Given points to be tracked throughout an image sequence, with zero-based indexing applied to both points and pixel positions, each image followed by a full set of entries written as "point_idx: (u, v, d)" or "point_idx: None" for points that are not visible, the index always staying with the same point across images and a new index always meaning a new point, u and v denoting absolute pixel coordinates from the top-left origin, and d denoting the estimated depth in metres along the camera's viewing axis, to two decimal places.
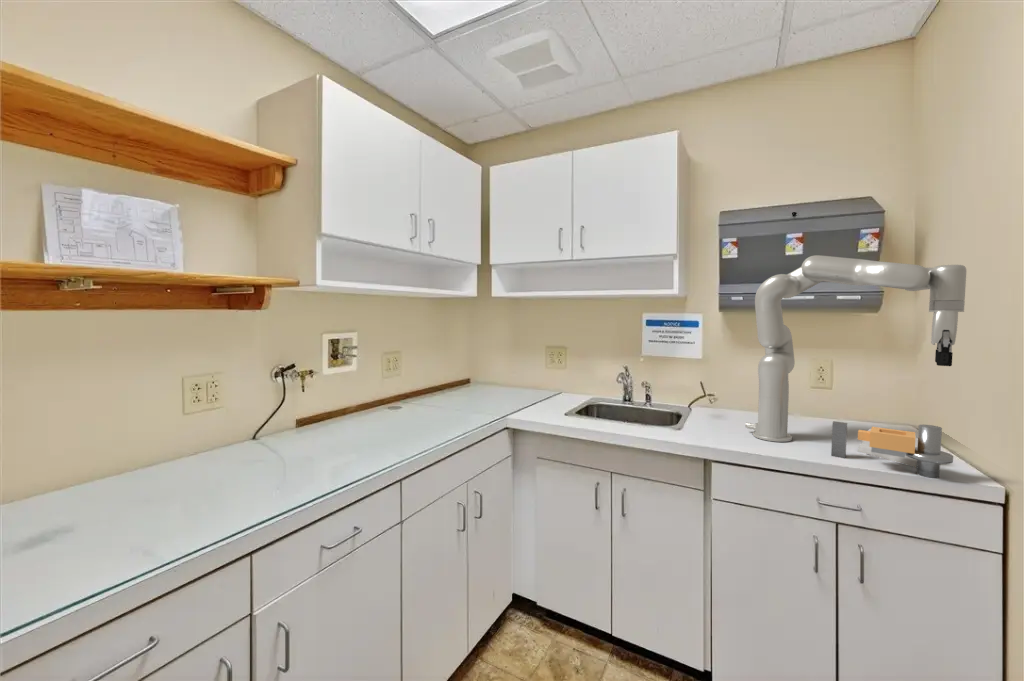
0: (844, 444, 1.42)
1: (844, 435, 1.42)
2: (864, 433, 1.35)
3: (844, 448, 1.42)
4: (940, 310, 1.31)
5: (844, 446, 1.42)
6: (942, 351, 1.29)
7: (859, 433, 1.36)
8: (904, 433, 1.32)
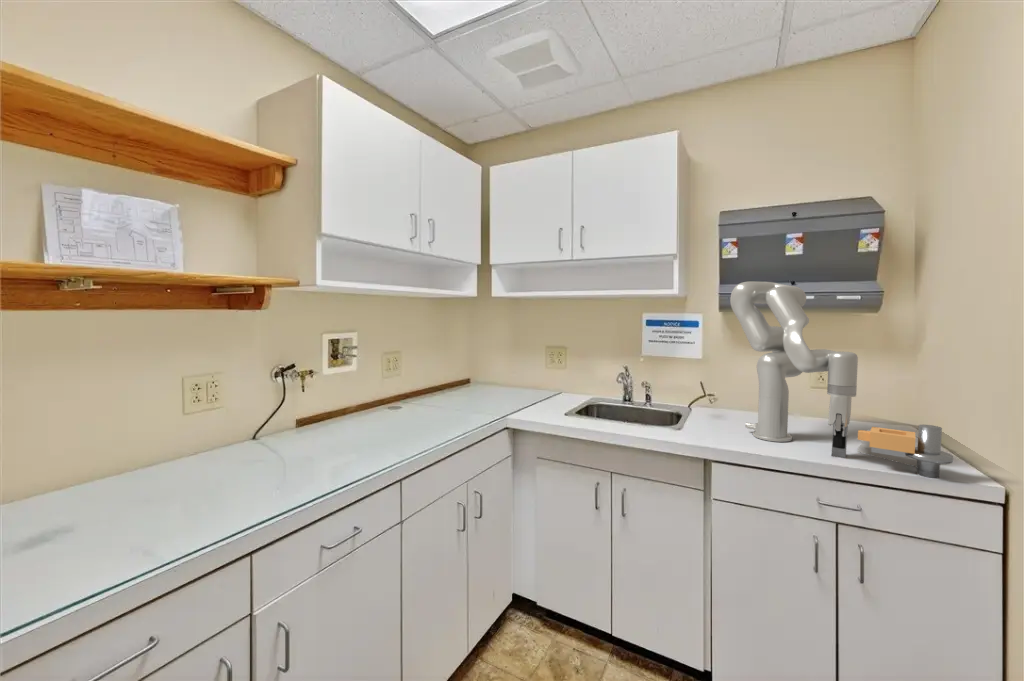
0: None
1: (845, 435, 1.42)
2: (864, 433, 1.35)
3: None
4: (834, 394, 1.41)
5: None
6: (836, 436, 1.42)
7: (859, 433, 1.36)
8: (904, 433, 1.32)
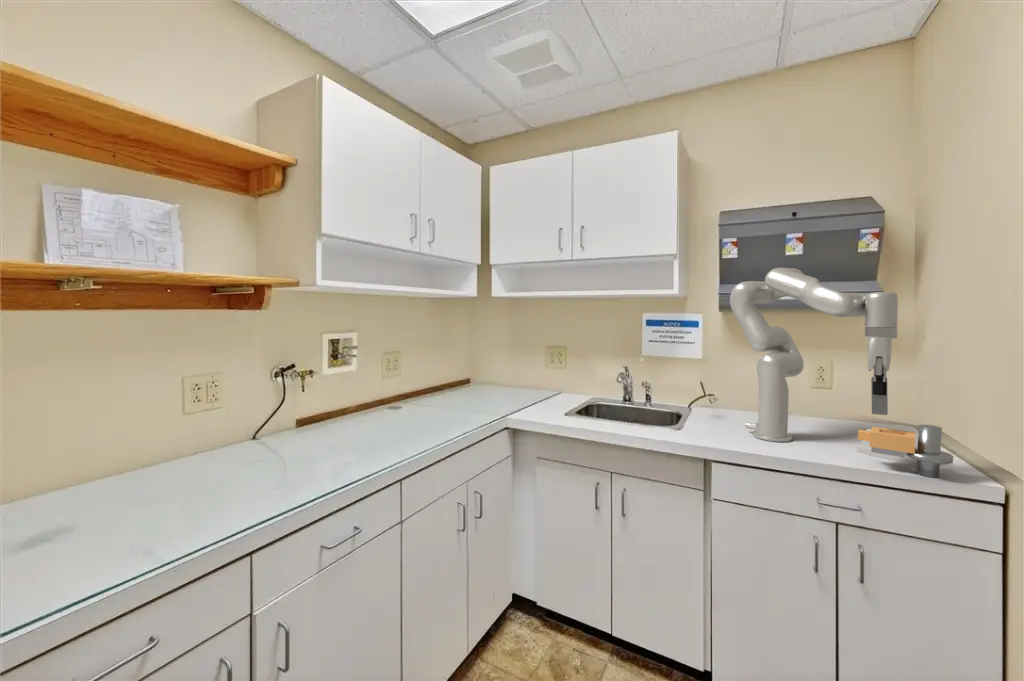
0: (885, 400, 1.32)
1: None
2: (864, 433, 1.35)
3: (886, 404, 1.32)
4: (873, 337, 1.32)
5: (886, 402, 1.32)
6: (877, 381, 1.33)
7: (859, 433, 1.36)
8: (904, 433, 1.32)
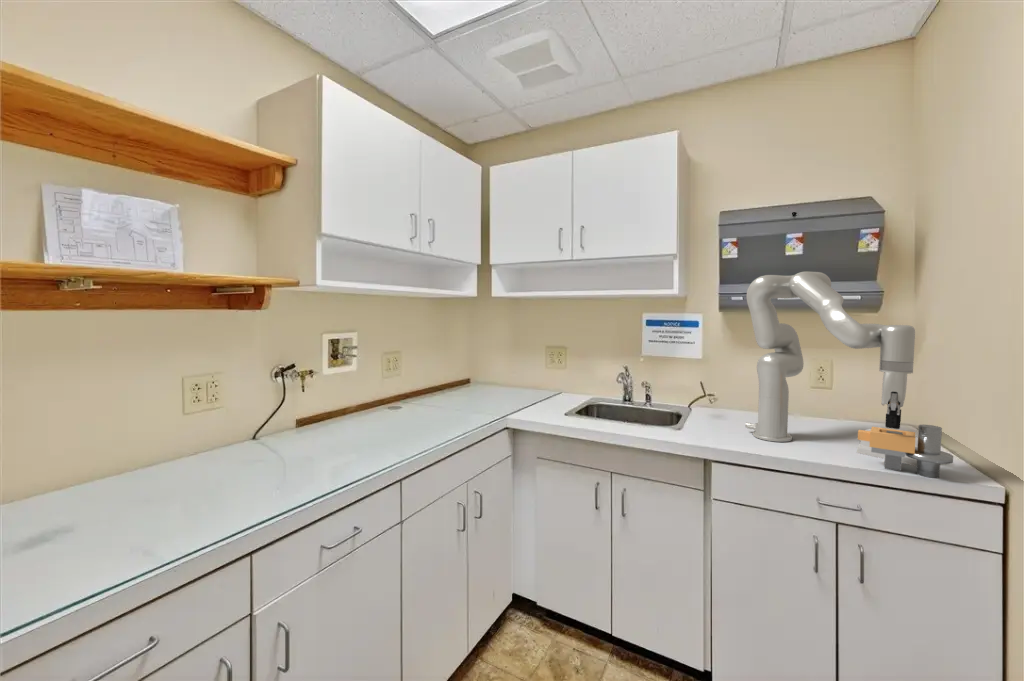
0: None
1: None
2: (864, 433, 1.35)
3: (900, 460, 1.30)
4: (889, 371, 1.29)
5: (900, 458, 1.30)
6: (890, 414, 1.28)
7: (859, 433, 1.36)
8: (904, 433, 1.32)
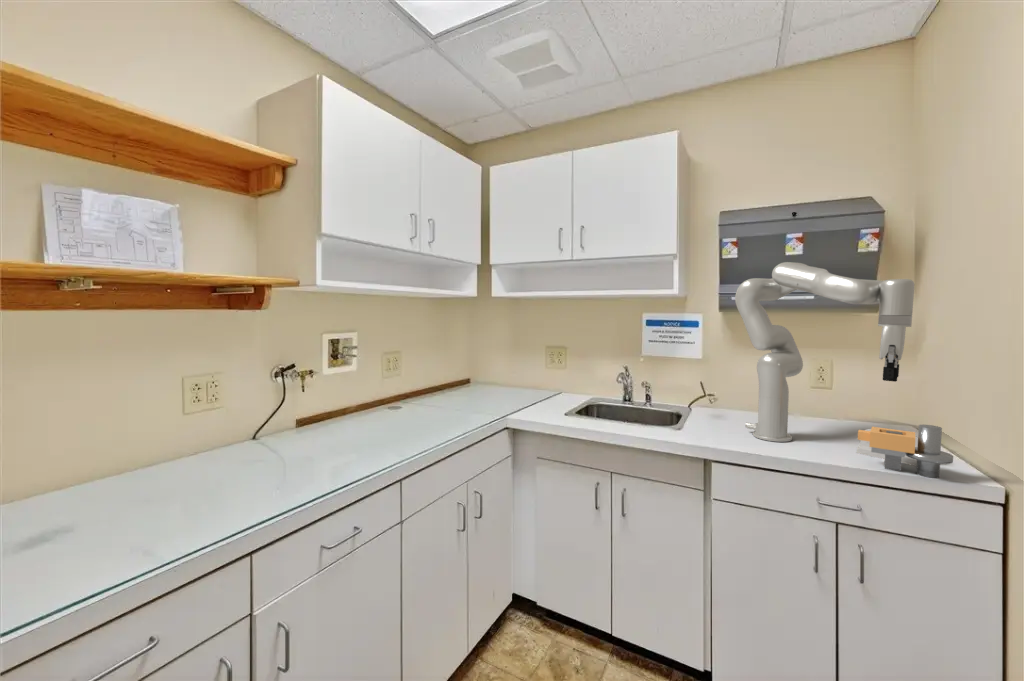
0: None
1: None
2: (864, 433, 1.35)
3: (900, 460, 1.30)
4: (887, 325, 1.30)
5: (900, 458, 1.30)
6: (888, 366, 1.28)
7: (859, 433, 1.36)
8: (904, 433, 1.32)
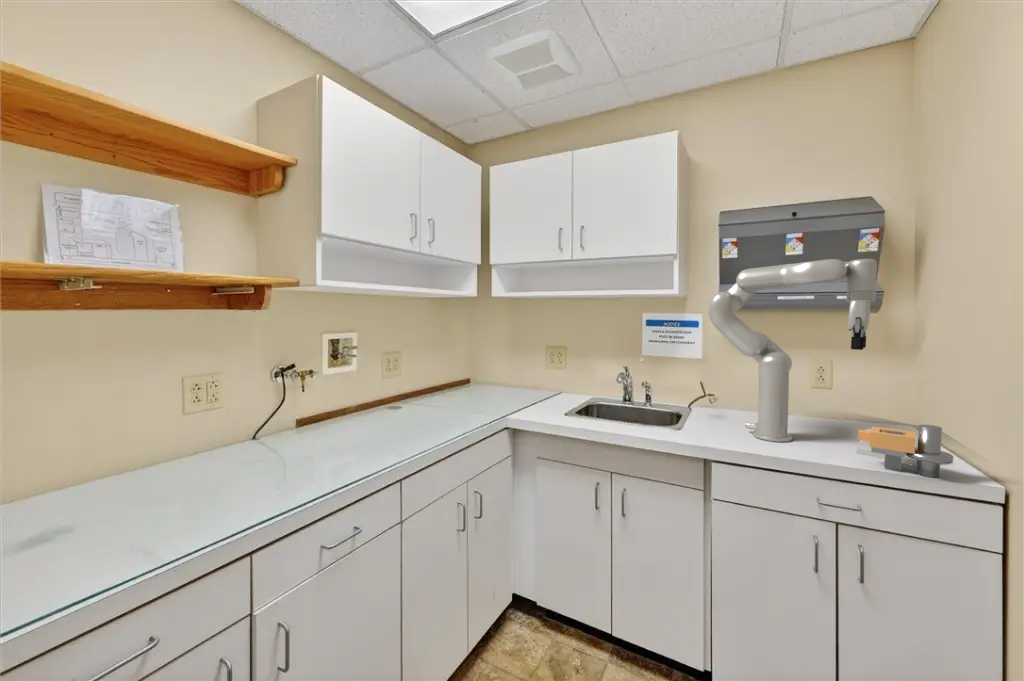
0: None
1: None
2: (864, 433, 1.35)
3: (900, 460, 1.30)
4: (854, 300, 1.46)
5: (900, 458, 1.30)
6: (855, 336, 1.44)
7: (859, 433, 1.36)
8: (904, 433, 1.32)
